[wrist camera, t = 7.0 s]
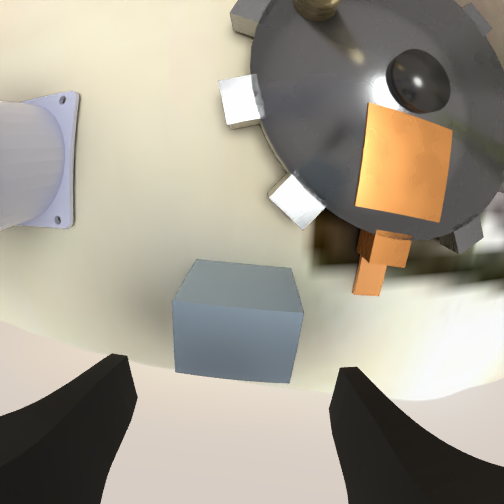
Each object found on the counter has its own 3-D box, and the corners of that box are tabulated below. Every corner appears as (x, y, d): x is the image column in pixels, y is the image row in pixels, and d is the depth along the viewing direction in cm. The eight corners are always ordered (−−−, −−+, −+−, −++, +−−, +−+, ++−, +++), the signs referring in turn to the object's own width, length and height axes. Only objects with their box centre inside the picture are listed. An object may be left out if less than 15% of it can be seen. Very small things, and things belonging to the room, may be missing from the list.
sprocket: (405, 311, 16) (449, 363, 11) (152, 117, 13) (99, 98, 8) (531, 111, 12) (584, 111, 6) (343, -70, 9) (364, -119, 4)
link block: (195, 317, 17) (175, 372, 12) (196, 258, 16) (172, 300, 11) (281, 326, 17) (289, 383, 12) (290, 267, 16) (303, 313, 11)
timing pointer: (352, 292, 16) (353, 294, 16) (360, 255, 15) (362, 256, 15) (377, 293, 16) (379, 296, 16) (385, 257, 16) (387, 259, 15)
